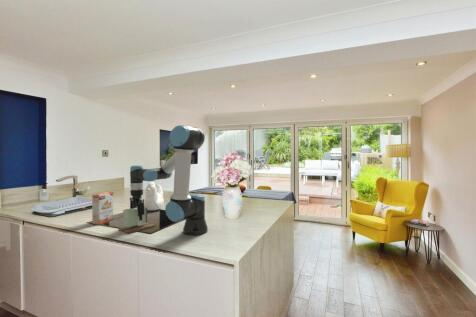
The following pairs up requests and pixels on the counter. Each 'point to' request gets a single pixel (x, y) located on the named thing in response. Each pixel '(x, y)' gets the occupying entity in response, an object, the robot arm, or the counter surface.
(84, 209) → the counter surface
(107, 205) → the cracker box
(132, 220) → the sage block
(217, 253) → the counter surface
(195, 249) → the counter surface
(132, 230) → the walnut board
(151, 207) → the decorative rooster
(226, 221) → the counter surface
